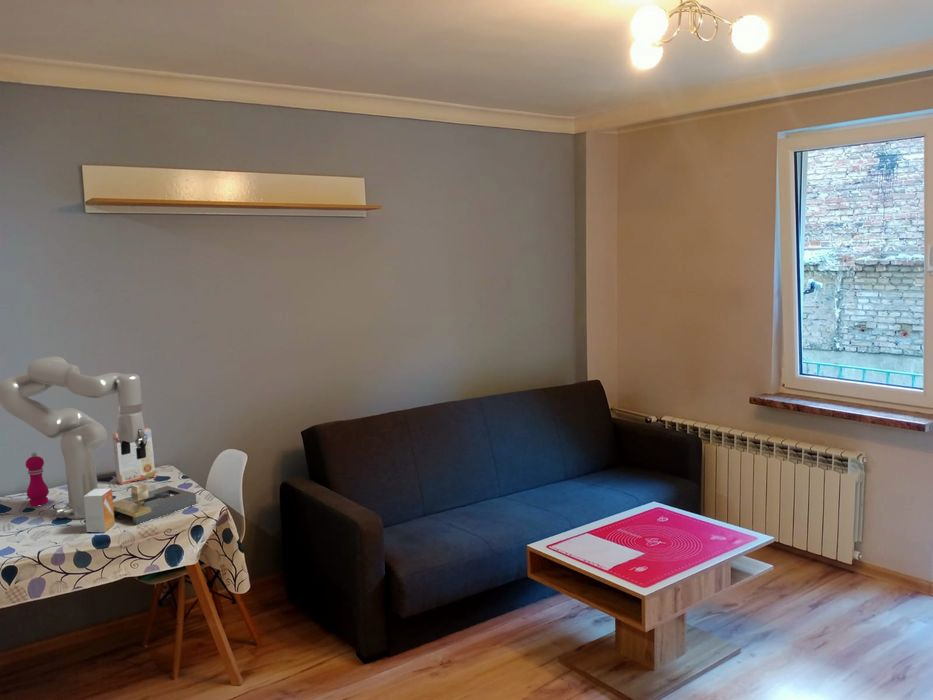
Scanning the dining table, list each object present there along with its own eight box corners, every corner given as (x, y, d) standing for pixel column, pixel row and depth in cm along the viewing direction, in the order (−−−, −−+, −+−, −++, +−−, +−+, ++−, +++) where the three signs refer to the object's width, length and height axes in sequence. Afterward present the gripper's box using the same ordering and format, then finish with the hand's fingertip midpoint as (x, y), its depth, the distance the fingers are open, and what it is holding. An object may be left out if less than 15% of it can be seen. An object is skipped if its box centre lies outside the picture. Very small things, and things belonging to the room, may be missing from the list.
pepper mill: (29, 508, 274) (24, 456, 272) (26, 503, 280) (20, 452, 277) (51, 504, 279) (46, 452, 276) (47, 499, 284) (42, 449, 282)
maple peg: (138, 517, 262) (136, 487, 261) (131, 514, 265) (128, 485, 264) (151, 513, 266) (149, 484, 265) (143, 510, 269) (141, 481, 268)
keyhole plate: (136, 525, 254) (135, 513, 254) (108, 515, 265) (106, 503, 264) (196, 505, 274) (195, 493, 273) (168, 496, 284) (167, 485, 283)
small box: (105, 532, 249) (102, 495, 247) (86, 533, 248) (82, 496, 246) (115, 523, 257) (112, 487, 255) (96, 524, 256) (93, 488, 254)
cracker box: (151, 474, 314) (147, 426, 311) (155, 477, 309) (151, 429, 306) (116, 481, 305) (111, 432, 302) (120, 485, 300) (116, 435, 298)
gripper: (106, 408, 262) (110, 454, 264) (134, 414, 252) (137, 462, 254) (126, 404, 268) (130, 450, 270) (154, 410, 258) (157, 457, 260)
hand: (133, 456), depth 262 cm, fingers open, 9 cm apart
